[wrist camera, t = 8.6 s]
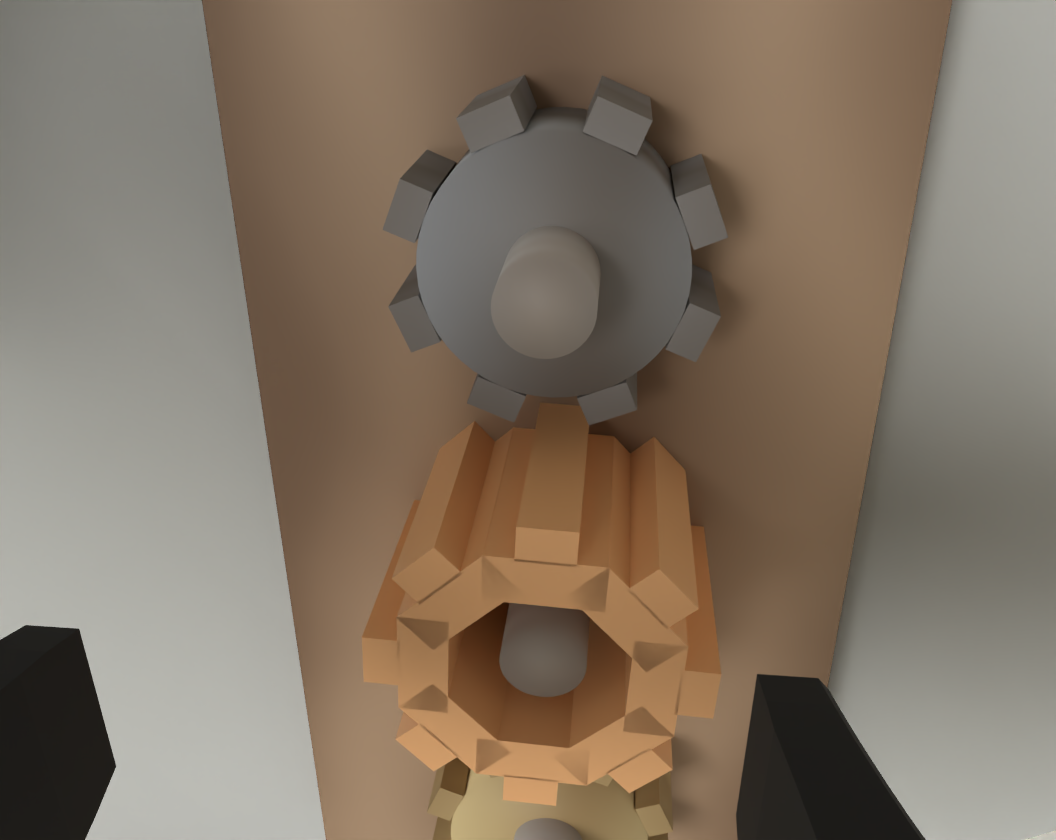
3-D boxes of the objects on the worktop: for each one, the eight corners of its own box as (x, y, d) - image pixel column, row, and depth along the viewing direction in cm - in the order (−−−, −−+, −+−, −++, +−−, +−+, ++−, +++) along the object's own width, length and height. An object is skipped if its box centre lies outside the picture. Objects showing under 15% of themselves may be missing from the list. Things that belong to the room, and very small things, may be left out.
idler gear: (415, 631, 20) (368, 784, 16) (413, 391, 17) (356, 511, 14) (683, 658, 19) (694, 821, 16) (720, 417, 17) (744, 548, 13)
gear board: (346, 817, 25) (284, 1010, 20) (233, -40, 16) (75, -26, 11) (778, 850, 24) (812, 1062, 19) (929, -42, 15) (1058, -28, 10)
